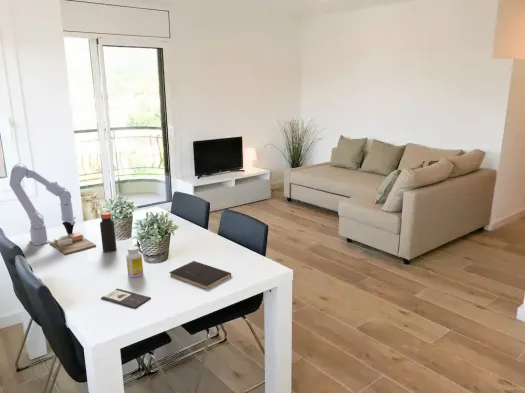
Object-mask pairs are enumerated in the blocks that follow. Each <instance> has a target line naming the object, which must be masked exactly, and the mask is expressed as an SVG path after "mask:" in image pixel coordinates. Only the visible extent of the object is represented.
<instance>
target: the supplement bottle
mask: <svg viewBox="0 0 525 393" xmlns="http://www.w3.org/2000/svg"><path fill="white" fill-rule="evenodd" d="M142 256H143V255H142V252H141V251H139V248H138V247H137V246H134V245H133V246H132V245H131V246H129V247H127V253H126V258H125V259H126V268H127V276H128V277H131V278H137V277H141V276H142V275H143V274H144V267H143V257H142Z"/></svg>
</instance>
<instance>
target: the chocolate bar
mask: <svg viewBox="0 0 525 393" xmlns="http://www.w3.org/2000/svg"><path fill="white" fill-rule="evenodd" d="M100 299H101V300H104V301H107V302H110V303H112V304H113V303H114V304H118V305H121V306H124V307H128V308H130V309H134V310H136V309H137V308H139V307H140V306H142V305H143V304H145V303H147V302H148V301H150V300H151V299H152V298H151V297H150V296H147V295H143V294H140V293H136V292H133V291H128V290H124V289H121V288H115V289H114V290H112V291H111V292H108V293H107V294H105V295H104V296H101V297H100Z"/></svg>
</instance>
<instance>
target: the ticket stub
mask: <svg viewBox="0 0 525 393" xmlns="http://www.w3.org/2000/svg"><path fill="white" fill-rule="evenodd" d="M67 236H68V237H70V238H71V239H72V241H76V240H80V239H83V237H84V235H83V234H82V233H81V232H79V231H77V232H73V233H72V234H67Z"/></svg>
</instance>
